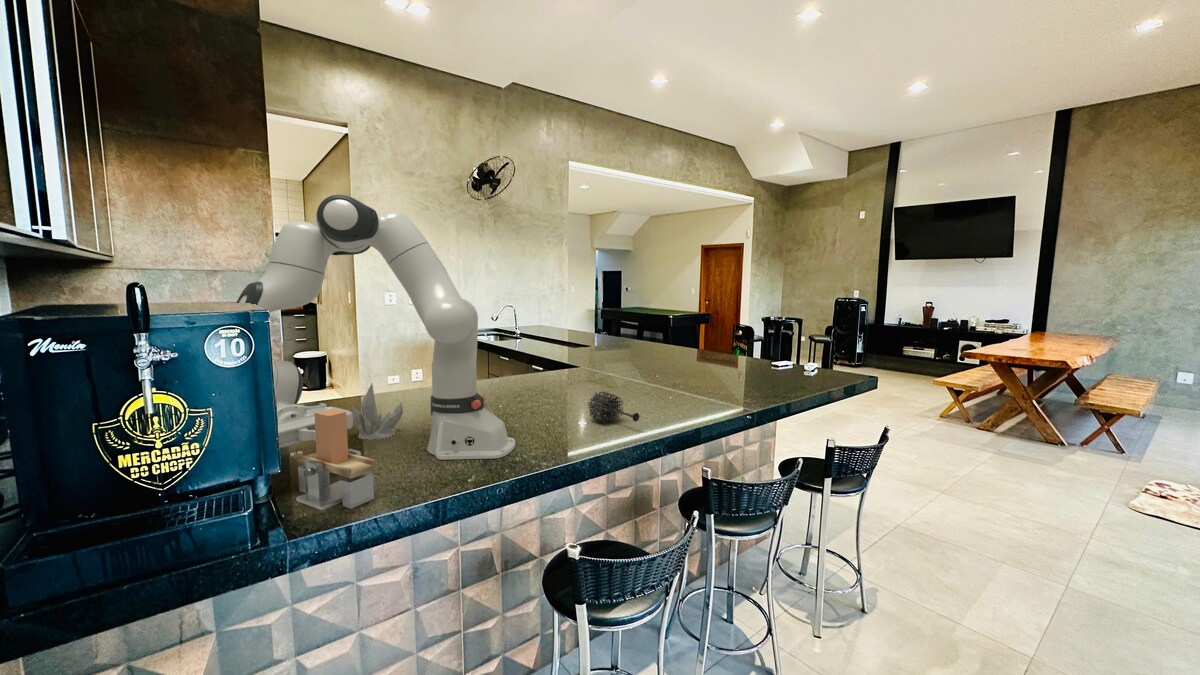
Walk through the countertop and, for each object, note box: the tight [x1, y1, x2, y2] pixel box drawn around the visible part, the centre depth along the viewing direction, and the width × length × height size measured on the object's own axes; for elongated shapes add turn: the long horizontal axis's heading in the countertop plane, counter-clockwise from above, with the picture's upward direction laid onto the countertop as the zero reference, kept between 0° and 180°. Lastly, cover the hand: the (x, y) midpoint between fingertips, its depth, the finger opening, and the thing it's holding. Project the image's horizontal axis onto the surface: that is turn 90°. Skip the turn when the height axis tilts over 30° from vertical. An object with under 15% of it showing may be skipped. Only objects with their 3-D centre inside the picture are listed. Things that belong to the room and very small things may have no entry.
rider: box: [314, 409, 349, 464], centre depth 95 cm, size 5×4×10 cm
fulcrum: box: [295, 448, 375, 511], centre depth 96 cm, size 16×11×8 cm
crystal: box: [351, 383, 404, 441], centre depth 135 cm, size 10×13×15 cm
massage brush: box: [586, 391, 640, 425], centre depth 148 cm, size 9×22×9 cm, turn 39°
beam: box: [293, 451, 377, 478], centre depth 95 cm, size 17×6×2 cm, turn 62°
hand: (324, 435), depth 96 cm, fingers closed
